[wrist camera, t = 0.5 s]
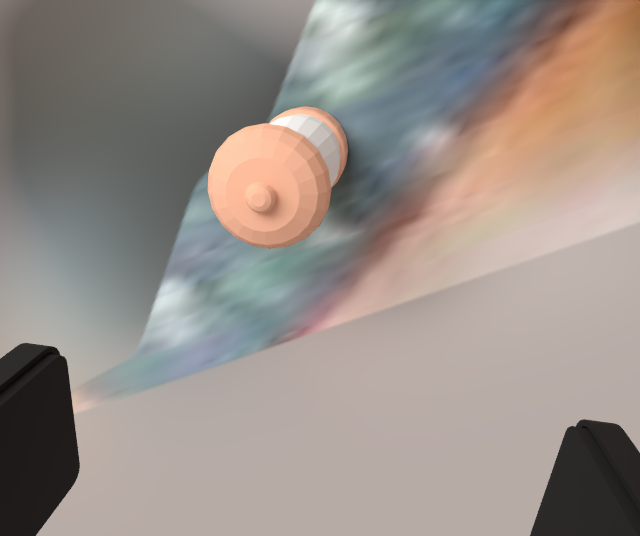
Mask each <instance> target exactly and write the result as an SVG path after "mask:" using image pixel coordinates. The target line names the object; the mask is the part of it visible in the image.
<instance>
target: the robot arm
mask: <svg viewBox="0 0 640 536" xmlns="http://www.w3.org/2000/svg"><path fill="white" fill-rule="evenodd" d="M79 464H80V463H79V455H78V447H77V439H76V431H75V423H74V414H73V406H72V398H71V390H70V382H69V374H68V366H67V361H66V359H65V357H63V356H60V353H59V351H58V350H57V348H55V347H51V346H43V345H36V344H29V343H23V344H20V345H18V346H17V347H15V348H14V349H13V350H11V351H10V352H9V353H7V354H6V355H5V356H3V357H2V358H1V359H0V536H36V534H37V533H38V532H39V530H40V529H41V528H42V526H43V525H44V524H45V522H46V521H47V520H48V518H49V517H50V516H51V514H52V513H53V512H54V510H55V509H56V508H57V506H58V505H59V503H60V502H61V501H62V499H63V498H64V497H65V496H66V494H67V493H68V491H69V490H70V489H71V487H72V486H73V484H74V483H75V481H76V479H77V476H78V473H79V468H80V467H79V466H80V465H79ZM530 536H640V453H639V451H638V450H637V448H636V447H635V445H634V444H633V443H632V441H631V440H630V438H629V437H628V436H627V434H626V433H625V431H624V430H623V429H622V428H621V427H620V426H619V425H617V424H614V423H606V422H599V421H592V420H580V421H579V422H578V423H577V425H576V427H574V426H571V427H569V428H568V429H567V431H566V433H565V435H564V438H563V441H562V444H561V447H560V450H559V453H558V456H557V458H556V461H555V464H554V467H553V470H552V473H551V477H550V479H549V482H548V485H547V488H546V490H545V493H544V496H543V499H542V502H541V505H540V508H539V511H538V514H537V517H536V520H535V523H534V526H533V528H532V532H531V535H530Z"/></svg>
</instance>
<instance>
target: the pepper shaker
mask: <svg viewBox="0 0 640 536" xmlns="http://www.w3.org/2000/svg"><path fill="white" fill-rule="evenodd" d="M347 155H348V144H347V138H346V135H345V133H344V131H343V129H342V127H341V125H340V123H339V122H338V121H337V120H336V119H335V118H334V117H333V116H332V115H331V114H329V113H327V112H325V111H323V110H321V109H319V108H314V107H307V106H304V107H299V108H293V109H290V110H287V111H285V112H283V113H282V114H280V115H278V116H276V117H275V118H273V120H272V121H271V122H270V123H269V124H266V123H265V124H260V125H254V126H249V127H245V128H243V129H242V130H240V131H238V132H236V133H235V134H233V135H231V136H229V137H228V139H227V140H226V141H225V142H224V143H223V144H222V146H221V147H220V148H219V149H218V150H217V152H216V154H215V157H214V159H213V162H212V164H211V167H210V170H209V178H208V194H209V197H210V201H211V205H212V209H213V211H214V212H215V214H216V216H217V217H218V219H219V221H220V222H221V224H222V225H223V226H224V227H225V228H226V229H227V230H228V231H229V232H230V233H231V234H233V235H234V236H235V237H236V238H238V239H240V240H242V241H244V242H246V243H248V244H250V245H252V246H257V247H263V248H269V249H271V248H278V247H286V246H290V245H292V244H294V243H296V242H298V241H301V240H303V239H305V238H307V237H308V236H309V235H310V234H311V233H312V232H313V231H314V230H315V229H316V228H317V227H318V226H319V225H320V224H321V222H322V220H323V218H324V216H325V214H326V212H327V210H328V208H329V203H330V196H331V190H332V187H333V186H334V185H335V184H336V183H337V182H338V180H339V178H340V176H341V174H342V172H343V170H344V168H345V165H346V161H347Z"/></svg>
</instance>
